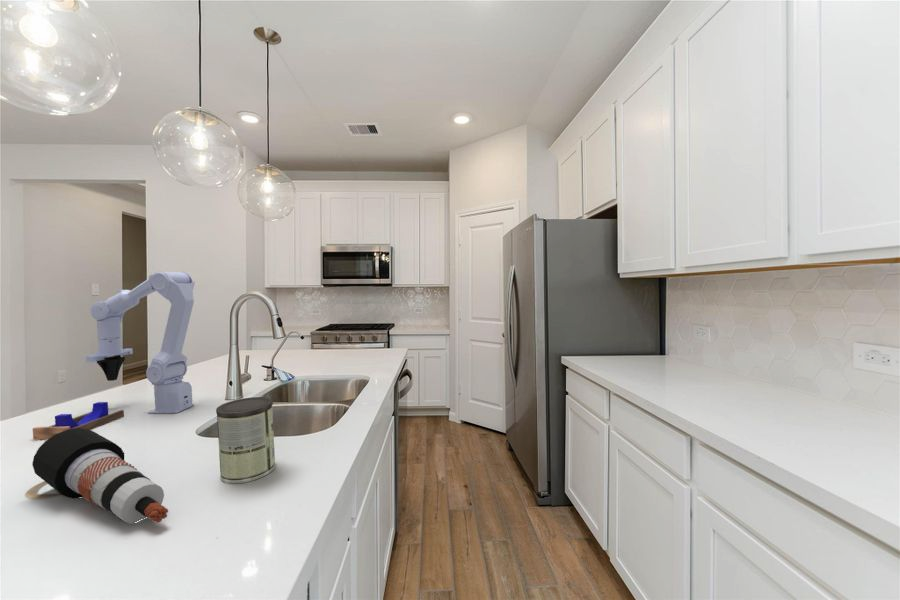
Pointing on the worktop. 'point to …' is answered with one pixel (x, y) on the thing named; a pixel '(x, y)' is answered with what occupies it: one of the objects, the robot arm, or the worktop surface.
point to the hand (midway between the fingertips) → (112, 380)
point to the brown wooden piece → (50, 431)
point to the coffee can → (245, 439)
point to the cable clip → (97, 412)
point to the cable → (98, 475)
